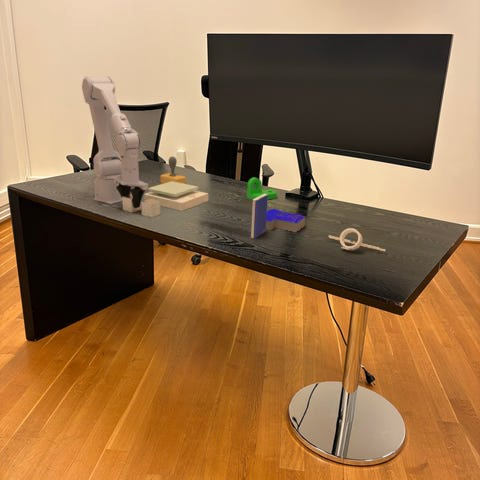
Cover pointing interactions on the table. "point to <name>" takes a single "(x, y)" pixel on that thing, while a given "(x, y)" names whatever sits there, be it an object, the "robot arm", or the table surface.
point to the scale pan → (173, 189)
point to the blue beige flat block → (284, 220)
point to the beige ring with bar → (357, 245)
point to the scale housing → (179, 200)
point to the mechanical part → (258, 190)
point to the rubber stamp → (172, 173)
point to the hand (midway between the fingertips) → (131, 206)
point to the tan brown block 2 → (150, 208)
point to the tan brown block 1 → (129, 204)
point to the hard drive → (259, 215)
